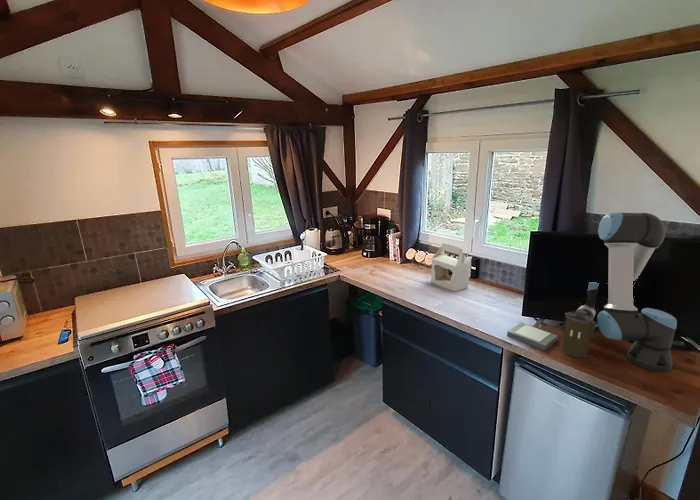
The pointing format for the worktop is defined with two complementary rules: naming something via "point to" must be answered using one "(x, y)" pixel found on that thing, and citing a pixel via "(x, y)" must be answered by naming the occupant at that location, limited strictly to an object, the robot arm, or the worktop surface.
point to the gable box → (457, 267)
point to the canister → (578, 324)
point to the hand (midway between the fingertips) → (575, 334)
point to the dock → (532, 336)
